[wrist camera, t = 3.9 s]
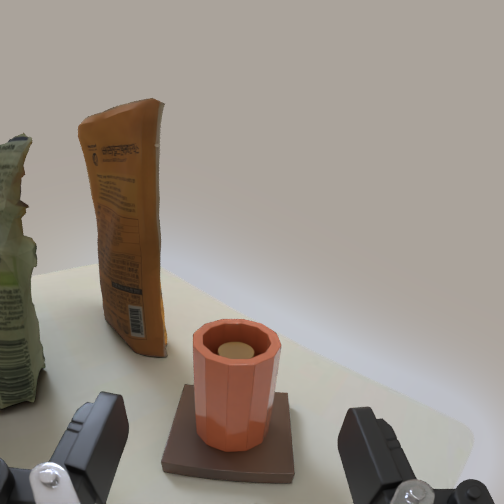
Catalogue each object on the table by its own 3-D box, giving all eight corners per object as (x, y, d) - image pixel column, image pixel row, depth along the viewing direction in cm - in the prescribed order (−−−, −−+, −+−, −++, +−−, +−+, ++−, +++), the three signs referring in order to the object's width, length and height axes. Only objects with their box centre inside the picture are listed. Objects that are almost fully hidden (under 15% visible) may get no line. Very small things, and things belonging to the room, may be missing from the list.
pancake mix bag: (139, 376, 31) (131, 91, 23) (83, 308, 44) (76, 116, 36) (189, 357, 36) (195, 99, 28) (121, 299, 49) (119, 117, 41)
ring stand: (285, 403, 30) (299, 322, 27) (291, 483, 20) (315, 401, 17) (185, 394, 30) (181, 312, 27) (163, 471, 20) (146, 386, 17)
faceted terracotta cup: (276, 414, 26) (290, 330, 24) (252, 461, 21) (262, 375, 18) (216, 395, 28) (217, 312, 26) (183, 435, 23) (176, 347, 20)
